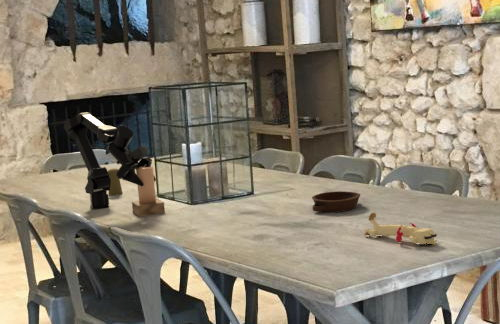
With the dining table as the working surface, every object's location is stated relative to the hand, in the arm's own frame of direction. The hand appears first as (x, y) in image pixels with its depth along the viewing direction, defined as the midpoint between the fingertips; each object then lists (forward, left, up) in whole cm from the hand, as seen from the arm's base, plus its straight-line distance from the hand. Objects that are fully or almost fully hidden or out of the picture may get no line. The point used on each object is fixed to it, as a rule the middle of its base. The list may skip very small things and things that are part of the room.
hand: (149, 183), depth 334 cm
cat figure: (+53, -94, -12) cm, 109 cm away
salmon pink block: (-1, +1, -7) cm, 8 cm away
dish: (+59, -39, -12) cm, 72 cm away
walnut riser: (-1, +1, -11) cm, 11 cm away
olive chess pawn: (-3, +49, -12) cm, 50 cm away
